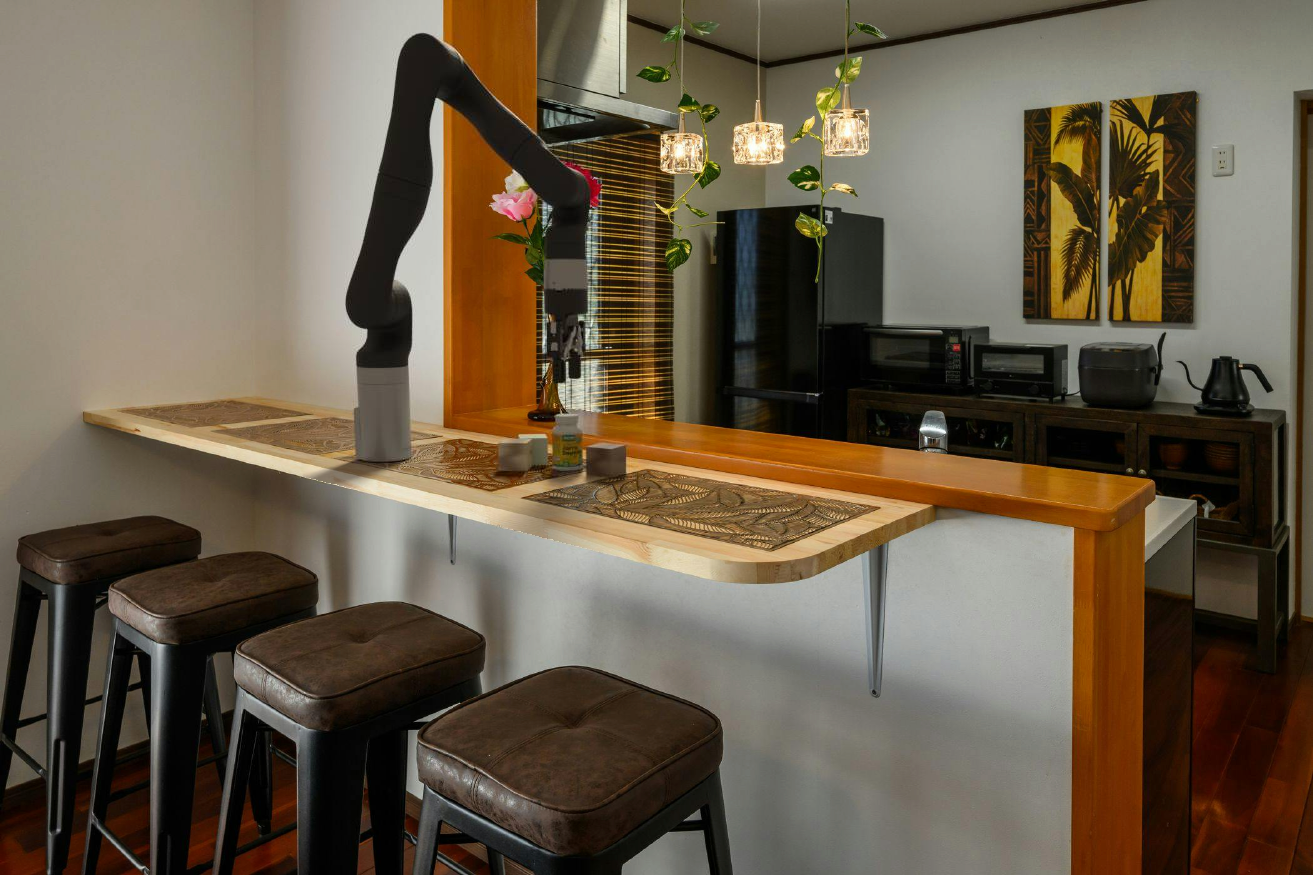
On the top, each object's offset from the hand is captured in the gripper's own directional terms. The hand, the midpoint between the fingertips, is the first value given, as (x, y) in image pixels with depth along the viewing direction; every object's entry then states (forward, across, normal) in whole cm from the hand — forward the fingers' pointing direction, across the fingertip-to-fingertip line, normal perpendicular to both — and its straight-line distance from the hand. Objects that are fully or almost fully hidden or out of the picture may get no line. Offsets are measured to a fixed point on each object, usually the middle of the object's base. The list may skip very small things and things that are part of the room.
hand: (567, 380), depth 158 cm
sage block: (+16, -4, -8) cm, 18 cm away
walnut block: (+16, +3, +8) cm, 18 cm away
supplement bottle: (+16, 0, 0) cm, 16 cm away
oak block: (+16, +2, -9) cm, 18 cm away
